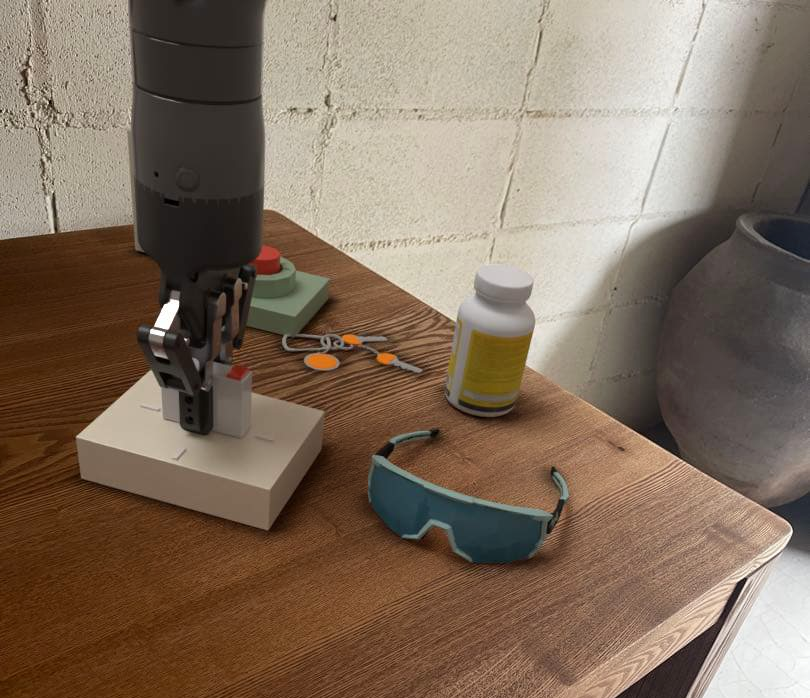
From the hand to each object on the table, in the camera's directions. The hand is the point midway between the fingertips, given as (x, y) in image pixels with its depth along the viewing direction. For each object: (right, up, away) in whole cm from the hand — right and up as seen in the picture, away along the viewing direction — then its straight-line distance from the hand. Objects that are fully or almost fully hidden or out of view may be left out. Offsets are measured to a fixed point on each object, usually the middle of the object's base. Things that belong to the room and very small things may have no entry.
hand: (203, 421), depth 61 cm
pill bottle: (+21, +4, +15) cm, 26 cm away
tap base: (0, -3, +2) cm, 4 cm away
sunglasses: (+19, -6, +3) cm, 20 cm away
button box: (0, +15, +24) cm, 28 cm away
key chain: (+9, +9, +19) cm, 23 cm away
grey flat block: (0, 0, 0) cm, 0 cm away
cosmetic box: (-11, +23, +32) cm, 41 cm away
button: (0, +18, +22) cm, 28 cm away
